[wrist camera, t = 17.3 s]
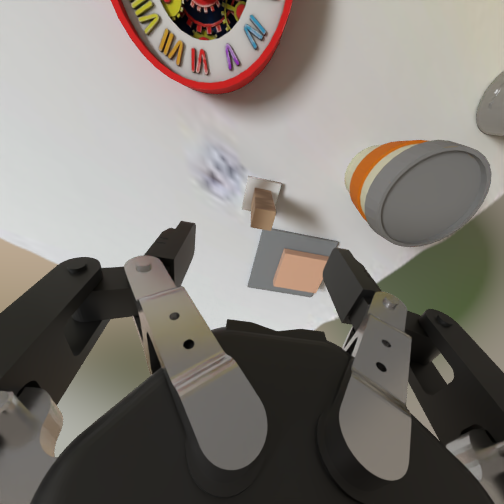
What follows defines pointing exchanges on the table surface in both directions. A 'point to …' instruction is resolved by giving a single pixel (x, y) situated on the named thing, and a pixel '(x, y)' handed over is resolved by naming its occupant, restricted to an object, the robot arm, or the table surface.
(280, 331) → the robot arm
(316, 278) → the tile
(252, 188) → the scraper
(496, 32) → the table surface
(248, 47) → the toy clock
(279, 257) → the mat
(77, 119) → the table surface
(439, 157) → the reusable coffee cup
